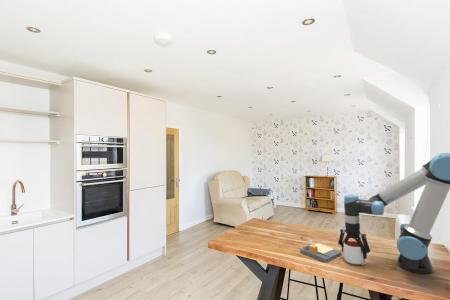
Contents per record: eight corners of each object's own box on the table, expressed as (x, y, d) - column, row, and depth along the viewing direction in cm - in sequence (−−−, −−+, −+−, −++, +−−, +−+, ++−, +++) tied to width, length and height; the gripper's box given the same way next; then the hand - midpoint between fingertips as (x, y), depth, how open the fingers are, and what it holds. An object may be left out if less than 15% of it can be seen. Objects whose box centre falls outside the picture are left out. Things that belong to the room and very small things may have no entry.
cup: (366, 265, 135) (365, 247, 135) (347, 264, 137) (346, 246, 137) (360, 258, 145) (359, 241, 145) (342, 257, 147) (341, 240, 147)
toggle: (317, 253, 150) (317, 246, 150) (314, 254, 148) (314, 247, 148) (312, 251, 153) (312, 244, 153) (309, 252, 151) (309, 245, 151)
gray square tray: (341, 255, 151) (341, 247, 151) (325, 263, 141) (325, 254, 141) (316, 246, 165) (316, 238, 165) (299, 252, 156) (299, 244, 156)
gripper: (376, 225, 134) (378, 265, 134) (337, 217, 153) (339, 252, 152) (369, 227, 130) (371, 269, 129) (330, 219, 148) (332, 256, 148)
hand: (354, 260), depth 141 cm, fingers closed on cup, 10 cm apart
